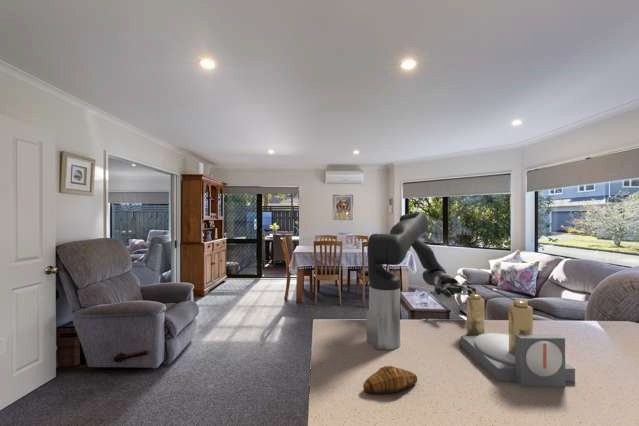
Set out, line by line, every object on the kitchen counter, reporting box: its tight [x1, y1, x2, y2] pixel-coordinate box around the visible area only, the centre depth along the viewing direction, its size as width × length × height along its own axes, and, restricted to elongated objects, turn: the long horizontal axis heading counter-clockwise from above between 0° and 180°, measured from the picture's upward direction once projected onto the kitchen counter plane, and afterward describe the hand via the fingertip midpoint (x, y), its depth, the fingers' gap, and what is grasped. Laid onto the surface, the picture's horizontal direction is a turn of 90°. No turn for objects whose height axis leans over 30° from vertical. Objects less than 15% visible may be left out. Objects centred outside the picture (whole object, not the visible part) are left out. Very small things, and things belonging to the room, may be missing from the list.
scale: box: [460, 332, 576, 388], centre depth 75 cm, size 18×21×11 cm
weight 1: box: [466, 293, 485, 336], centre depth 93 cm, size 5×5×13 cm
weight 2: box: [508, 299, 534, 356], centre depth 73 cm, size 5×5×13 cm
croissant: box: [362, 365, 418, 395], centre depth 65 cm, size 14×7×5 cm, turn 108°
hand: (461, 295), depth 104 cm, fingers open, 8 cm apart
